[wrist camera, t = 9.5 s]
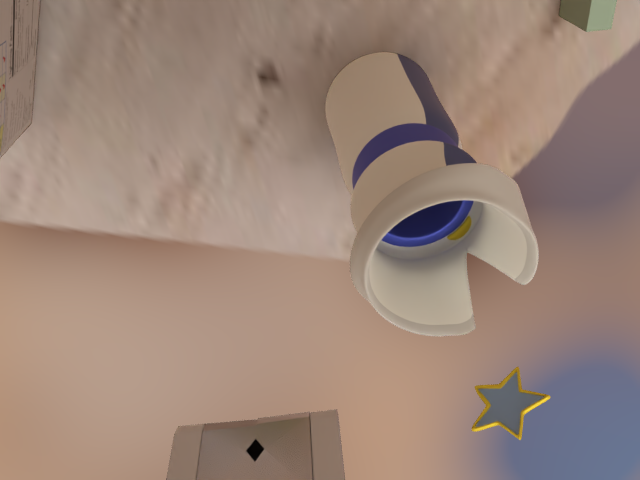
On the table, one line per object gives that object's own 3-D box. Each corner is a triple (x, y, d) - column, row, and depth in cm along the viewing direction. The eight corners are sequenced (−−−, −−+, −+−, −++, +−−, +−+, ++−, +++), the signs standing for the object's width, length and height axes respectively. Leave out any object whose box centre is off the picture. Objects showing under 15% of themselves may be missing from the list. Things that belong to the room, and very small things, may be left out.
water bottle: (467, 90, 40) (672, 348, 19) (387, 179, 43) (488, 476, 23) (377, 18, 37) (508, 233, 16) (300, 120, 40) (325, 403, 20)
